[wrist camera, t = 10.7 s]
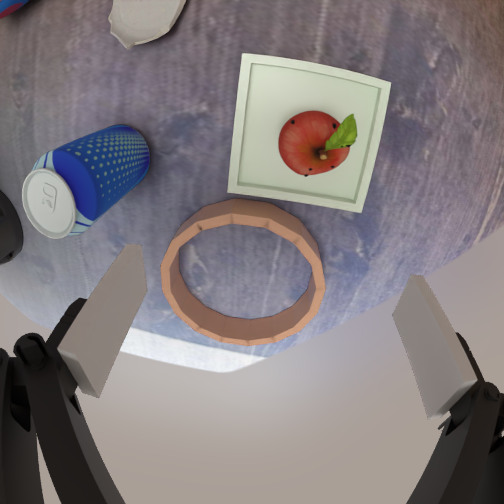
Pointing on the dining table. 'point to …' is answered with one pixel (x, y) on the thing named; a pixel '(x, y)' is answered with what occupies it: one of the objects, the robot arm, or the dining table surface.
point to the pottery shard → (143, 19)
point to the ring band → (240, 328)
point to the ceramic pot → (10, 6)
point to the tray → (290, 104)
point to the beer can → (84, 180)
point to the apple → (316, 142)
